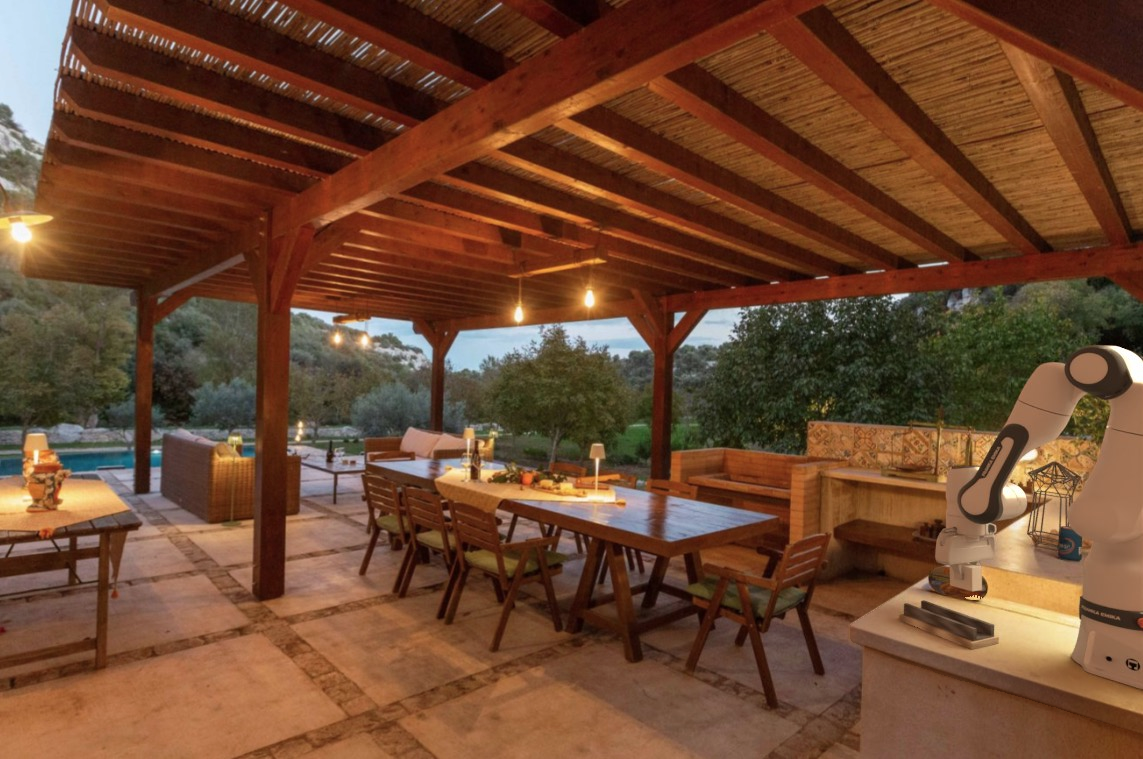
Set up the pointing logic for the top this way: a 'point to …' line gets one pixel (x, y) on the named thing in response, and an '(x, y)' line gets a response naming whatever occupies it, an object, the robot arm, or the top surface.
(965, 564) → the block
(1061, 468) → the geometric lantern
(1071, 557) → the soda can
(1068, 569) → the top surface
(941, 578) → the tin
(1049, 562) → the top surface
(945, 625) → the rail board
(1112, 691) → the top surface
